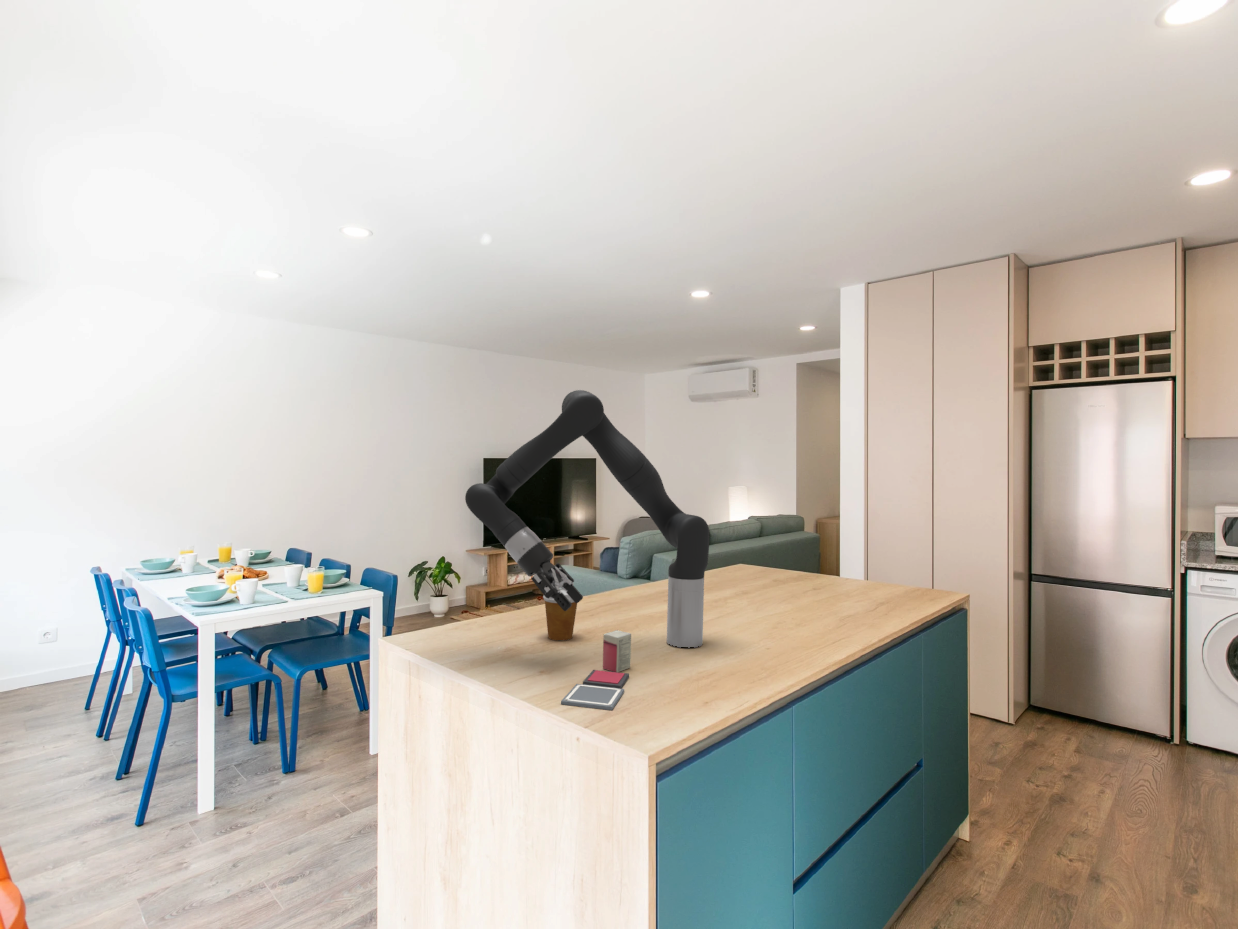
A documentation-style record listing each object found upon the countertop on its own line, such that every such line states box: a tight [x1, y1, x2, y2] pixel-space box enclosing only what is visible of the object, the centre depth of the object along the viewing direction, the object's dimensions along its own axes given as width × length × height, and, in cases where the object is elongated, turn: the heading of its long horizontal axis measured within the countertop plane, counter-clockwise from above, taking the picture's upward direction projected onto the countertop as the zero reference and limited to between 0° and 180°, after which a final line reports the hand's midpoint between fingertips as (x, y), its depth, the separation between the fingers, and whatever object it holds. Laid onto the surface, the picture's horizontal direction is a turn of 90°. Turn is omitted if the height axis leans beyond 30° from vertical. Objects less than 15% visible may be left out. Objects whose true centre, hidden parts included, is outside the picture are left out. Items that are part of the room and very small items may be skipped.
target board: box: [560, 683, 625, 711], centre depth 125 cm, size 10×10×1 cm
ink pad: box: [582, 669, 630, 689], centre depth 134 cm, size 8×8×1 cm
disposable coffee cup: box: [542, 588, 578, 641], centre depth 167 cm, size 10×10×12 cm
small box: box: [602, 629, 632, 673], centre depth 143 cm, size 5×4×8 cm
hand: (574, 604), depth 145 cm, fingers open, 8 cm apart
